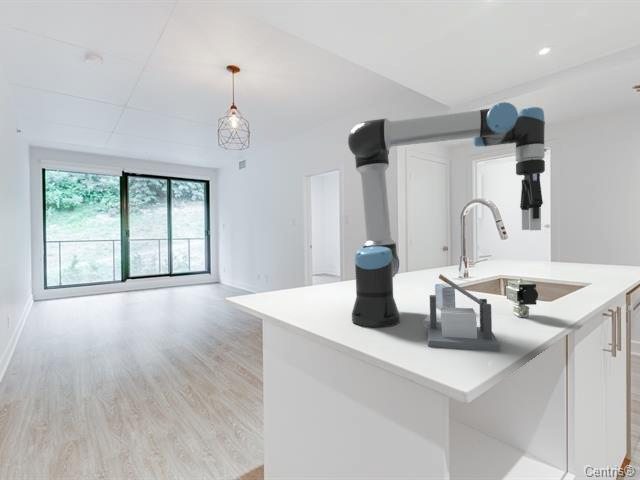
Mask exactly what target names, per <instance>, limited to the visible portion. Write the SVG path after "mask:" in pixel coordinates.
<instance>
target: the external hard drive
mask: <svg viewBox="0 0 640 480" xmlns="http://www.w3.org/2000/svg"><path fill="white" fill-rule="evenodd" d="M436 321H437V325H441V311H437V310H436ZM422 324H427V325H430V313H429V314H428V315H427V316H426V318H424V319H423V320H422Z"/></svg>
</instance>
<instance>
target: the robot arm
mask: <svg viewBox="0 0 640 480" xmlns="http://www.w3.org/2000/svg"><path fill="white" fill-rule="evenodd" d="M545 125H546V122H545V112H544V109H543V108H541V107H537V106H532V107H527V108H523V109H520V110H517V107H515V105H514V104H512V103H510V102H505V101H503V102H498V103H496V104H494V105H493V106H492V107H489V108H483V109H478V110H472V111H471V110H469V111H463V112H462V111H461V112H455V113H447V114H437V115H432V116H431V115H430V116H422V117H415V118H407V119H397V120H390V119H388V118H379V119H372V120H371V119H370V120H366V121H362V122H360V123H357V124H356V125H354V127H353V128H352V129H351V131H350V132H349V135H348V138H347V143H348V144H347V145H348V148H349V150H350V153H352V154H353V155H354V159H355V169H356V172H358V173H359V174H360V177H361V178H360V179H361V180H360V181H361V188H362V189H361V190H362V201H363V211H364V213H363V215H364V223H365V235H366V241H365V242H364V243H363V245H362V248H359V249H357V250H356V251H355V255H354V257H355V258H354V263H355V266H354V267H355V286H356V287H355V290H356V291H355V292H356V297H355V302H354V305H353V307H352V311H351V322H352V321H353V322H354V323H353V322H352V323H353V324H355V323H356V324H355V325H357V324H359V325H358V326H361V325H363V326H362V327H368V326H370V327H371V328H381V327H382V328H384V327H390V326H394V325H397V324H399V323H400V322H401V321H400V319H401V318H400V312H399V309H398V306H397V303H396V300H395V298H394V282H393V281H394V280H393V279H394V277H395V276H396V275H397V274H398V272H399V269H400V259H399V256H398V254H397V253H398V252H397V243H396V241H394V240H393V239H392V236H391V223H390V222H391V221H390V214H389V213H390V211H389V202H388V201H389V200H388V190H387V188H388V187H387V179H386V170H387V169H388V168H389V167H390V162H389V153H390V149H391V148H392V147H400V146H409V145H418V144H427V143H428V144H429V143H436V142H437V143H439V142H446V141H447V142H448V141H455V140H456V141H458V140H465V139H473V141H472V142H473V146H475V147H479V148H480V147H489V146H499V145H507V144H515V162H516V164H515V174H516V175H517V176H524V177H523V179H521V191H520V192H521V194H520V203H519V204H520V206H519V208H520V210H521V212H520V213H521V216H520V217H521V231H526V230H528V231H541V230H542V206H543V204H544V201H543V196H542V195H543V193H542V187H541V174H543V173H544V172H546V171H545V170H546V164H545V162H546V161H545V160H544V158H545V152H547V151H548V149H547V148H545V127H546V126H545ZM370 327H369V328H370Z"/></svg>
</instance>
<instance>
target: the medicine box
mask: <svg viewBox="0 0 640 480" xmlns="http://www.w3.org/2000/svg"><path fill="white" fill-rule="evenodd" d="M434 295H436V309H438V310H440V311H441V307H445V308H457V307H456V289H455V288H454V287H452V286H451V285H449V284H447V283H436V284H434Z"/></svg>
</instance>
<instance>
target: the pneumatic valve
mask: <svg viewBox="0 0 640 480" xmlns="http://www.w3.org/2000/svg"><path fill="white" fill-rule="evenodd" d="M504 296H505V297H506V299H507V300H509V301H511V302H514V304H513V305H512V307H513V314H512V315H513V316H515V317H518V318H519V319H520V318H531V317H530V316H531V315H530V306H531V305H532V306H533V305H534V306H536V305H537V300H538V298H539V293H538V291H537V284H536V283H533V282H530V281H527V280H524V279H523V278H518V279H509V280H508V279H507V280H506V285H505V286H504ZM528 305H530V306H528Z"/></svg>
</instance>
